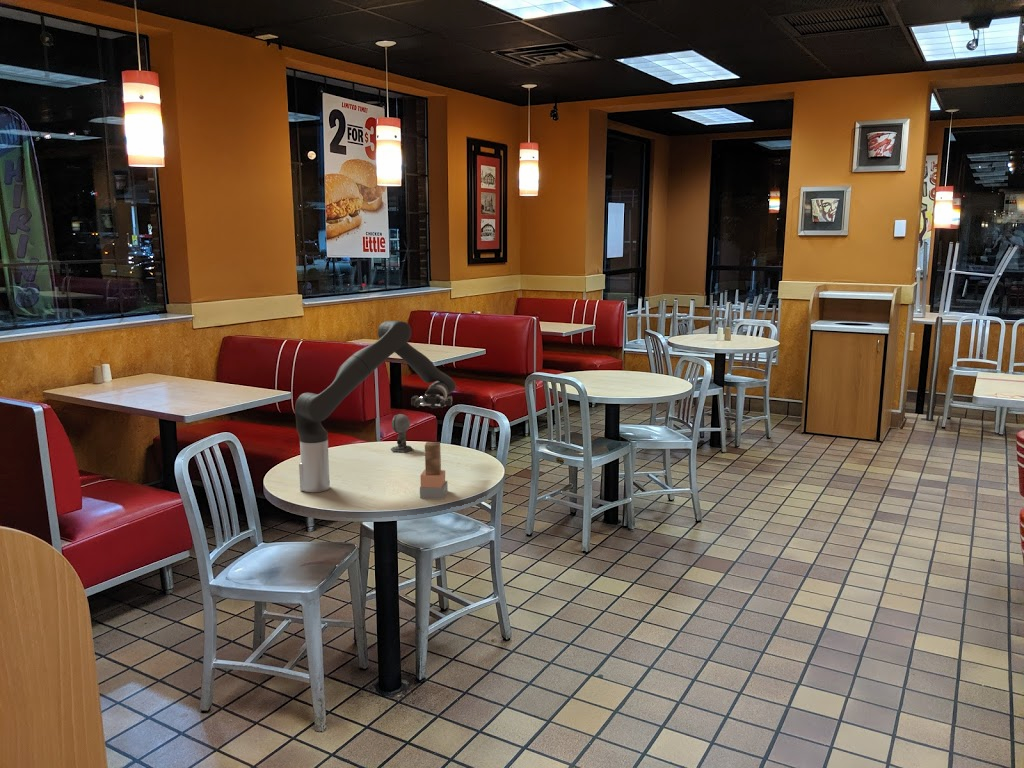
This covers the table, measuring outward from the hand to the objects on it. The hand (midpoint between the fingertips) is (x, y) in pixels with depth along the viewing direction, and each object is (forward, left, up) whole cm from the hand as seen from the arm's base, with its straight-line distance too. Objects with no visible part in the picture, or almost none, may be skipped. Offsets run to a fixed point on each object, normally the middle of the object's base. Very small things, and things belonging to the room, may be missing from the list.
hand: (429, 404), depth 268 cm
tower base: (+3, -14, -28) cm, 32 cm away
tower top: (+3, -14, -24) cm, 28 cm away
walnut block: (+3, -15, -20) cm, 25 cm away
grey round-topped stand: (-18, +42, -28) cm, 54 cm away
